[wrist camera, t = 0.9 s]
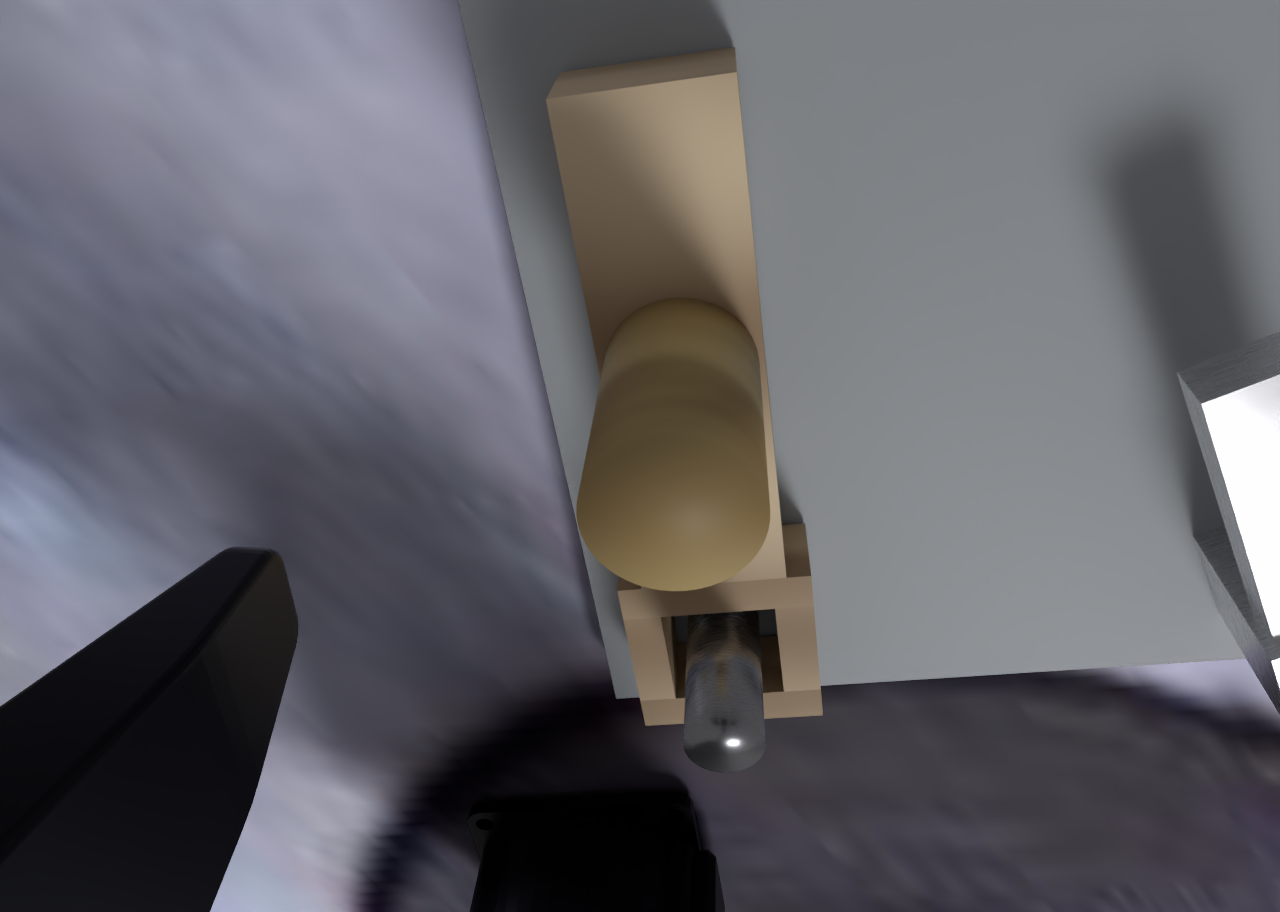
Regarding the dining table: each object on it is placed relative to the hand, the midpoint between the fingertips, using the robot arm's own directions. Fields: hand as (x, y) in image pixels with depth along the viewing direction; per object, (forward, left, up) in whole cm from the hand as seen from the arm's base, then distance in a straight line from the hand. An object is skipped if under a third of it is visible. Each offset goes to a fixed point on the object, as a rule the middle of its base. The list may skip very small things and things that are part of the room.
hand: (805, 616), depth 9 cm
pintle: (-2, -10, -12) cm, 16 cm away
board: (+3, -3, -13) cm, 14 cm away
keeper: (+9, -7, -12) cm, 17 cm away
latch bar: (-2, -5, -12) cm, 13 cm away
